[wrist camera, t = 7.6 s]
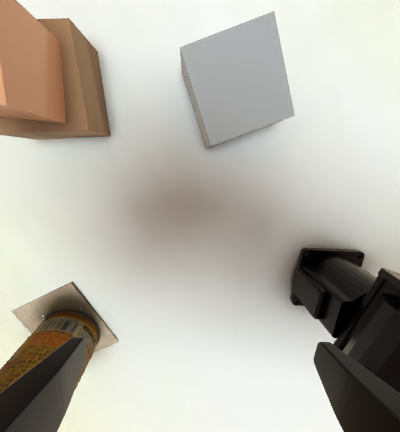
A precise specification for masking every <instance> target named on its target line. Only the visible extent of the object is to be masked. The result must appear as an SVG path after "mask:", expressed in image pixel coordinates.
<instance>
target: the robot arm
mask: <svg viewBox="0 0 400 432" xmlns="http://www.w3.org/2000/svg"><path fill="white" fill-rule="evenodd" d="M307 252H308V253H307ZM306 253H307V254H306ZM305 254H306V255H305ZM357 256H358V257H357ZM363 259H364V253H363V252H361V251H358V250H338V249H315V248H304V249H303V250H302V251H301V253H300V258H299V262H298V267H297V269H296V272H295V277H294V282H293V286H292V295H291V302H292V303H293V304H294V305H301V306H305V307H306V309H307V310H308V311H309V312H310V314H311V315H312V316H313V317H314V318H315V319H319V321H320V322H321V323H322V324H323V326H324V327H325V328H326V329H327V331H328V332H329V333H330V334H331V335H332V337H333V338H337V339H336V341H335V342H334V344H331V343H329V342H319V343H318V345H317V348H316V352H315V355H314V363H315V366H316V369H317V371H318V374H319V376H320V379H321V381H322V384H323V386H324V389H325V391H326V394H327V396H328V398H329V401H330V403H331V406H332V408H333V410H334V413H335V415H336V417H337V419H338V421H339V423H340V425H341V427H342V429H343V431H344V432H400V274H399V273H396V272H393V271H390V270H387V269H385V268H381V269H380V271H379V272H378V274H379V275H378V277H375V276H373V275H372V274H370V273H369V272H367V271H365V270H364V269H362V268H361V266H362V262H363ZM295 300H296V301H295ZM86 357H87V350H86V340H85V338H84V337H72V338H70V339H69V340H68V341H66V342H65V343H64V344H63V345H61V346H60V347H59V348H57V349H56V350H55V351H54V352H52V353H51V354H50V355H48V356H47V357H46V358H44V359H43V360H42V361H41V362H39V363H38V364H37V365H35V366H34V367H33V368H32V369H30V370H29V371H28V372H26V373H25V374H24V375H22V376H21V377H20V378H19V379H17V380H16V381H15V382H13V383H12V384H11V385H10V386H8V387H7V388H6V389H4V390H3V391H2V392H0V432H57V430H58V428H59V426H60V424H61V422H62V420H63V418H64V415H65V413H66V411H67V408H68V406H69V403H70V401H71V398H72V395H73V393H74V390H75V387H76V385H77V382H78V380H79V377H80V374H81V372H82V369H83V366H84V364H85V361H86Z"/></svg>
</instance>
